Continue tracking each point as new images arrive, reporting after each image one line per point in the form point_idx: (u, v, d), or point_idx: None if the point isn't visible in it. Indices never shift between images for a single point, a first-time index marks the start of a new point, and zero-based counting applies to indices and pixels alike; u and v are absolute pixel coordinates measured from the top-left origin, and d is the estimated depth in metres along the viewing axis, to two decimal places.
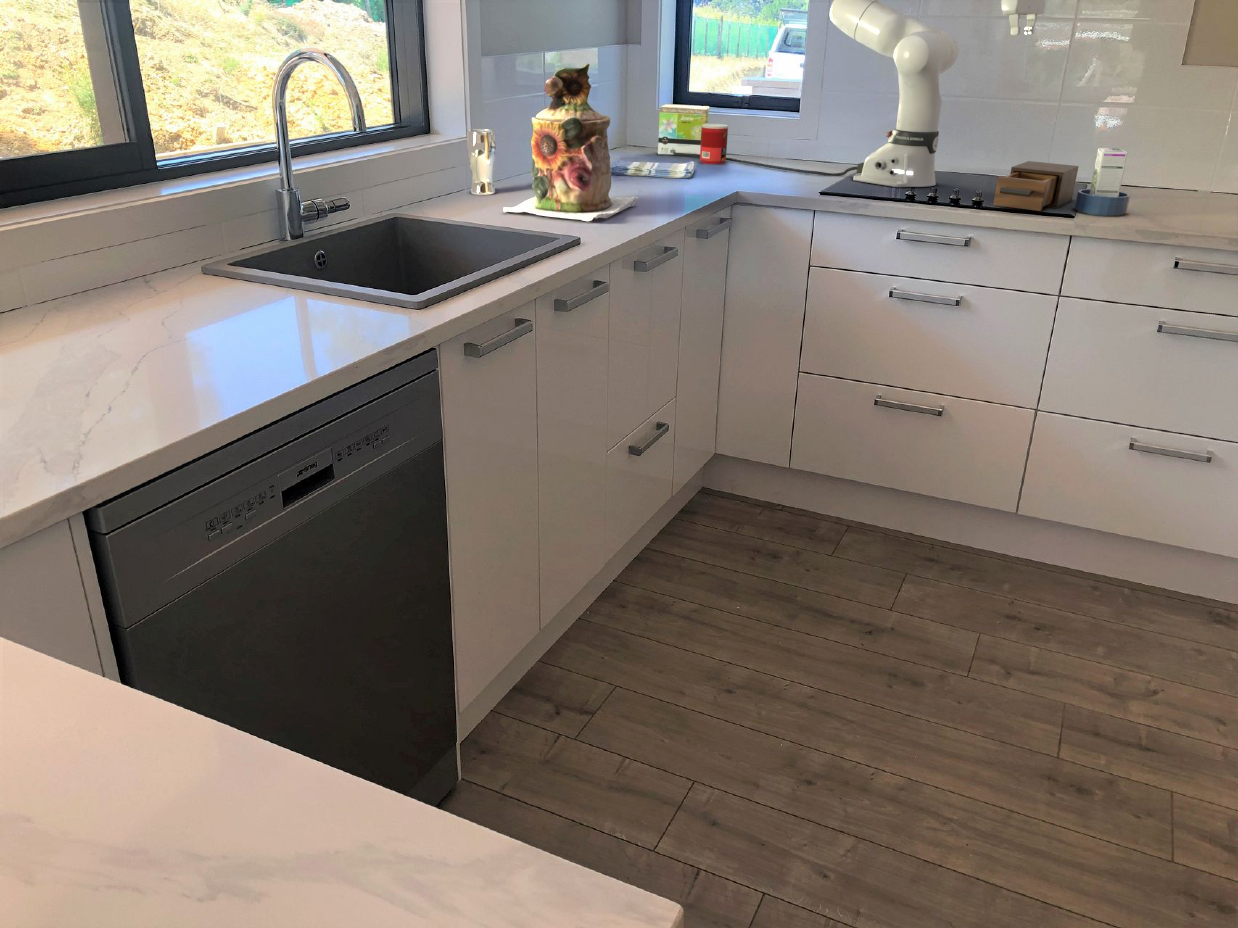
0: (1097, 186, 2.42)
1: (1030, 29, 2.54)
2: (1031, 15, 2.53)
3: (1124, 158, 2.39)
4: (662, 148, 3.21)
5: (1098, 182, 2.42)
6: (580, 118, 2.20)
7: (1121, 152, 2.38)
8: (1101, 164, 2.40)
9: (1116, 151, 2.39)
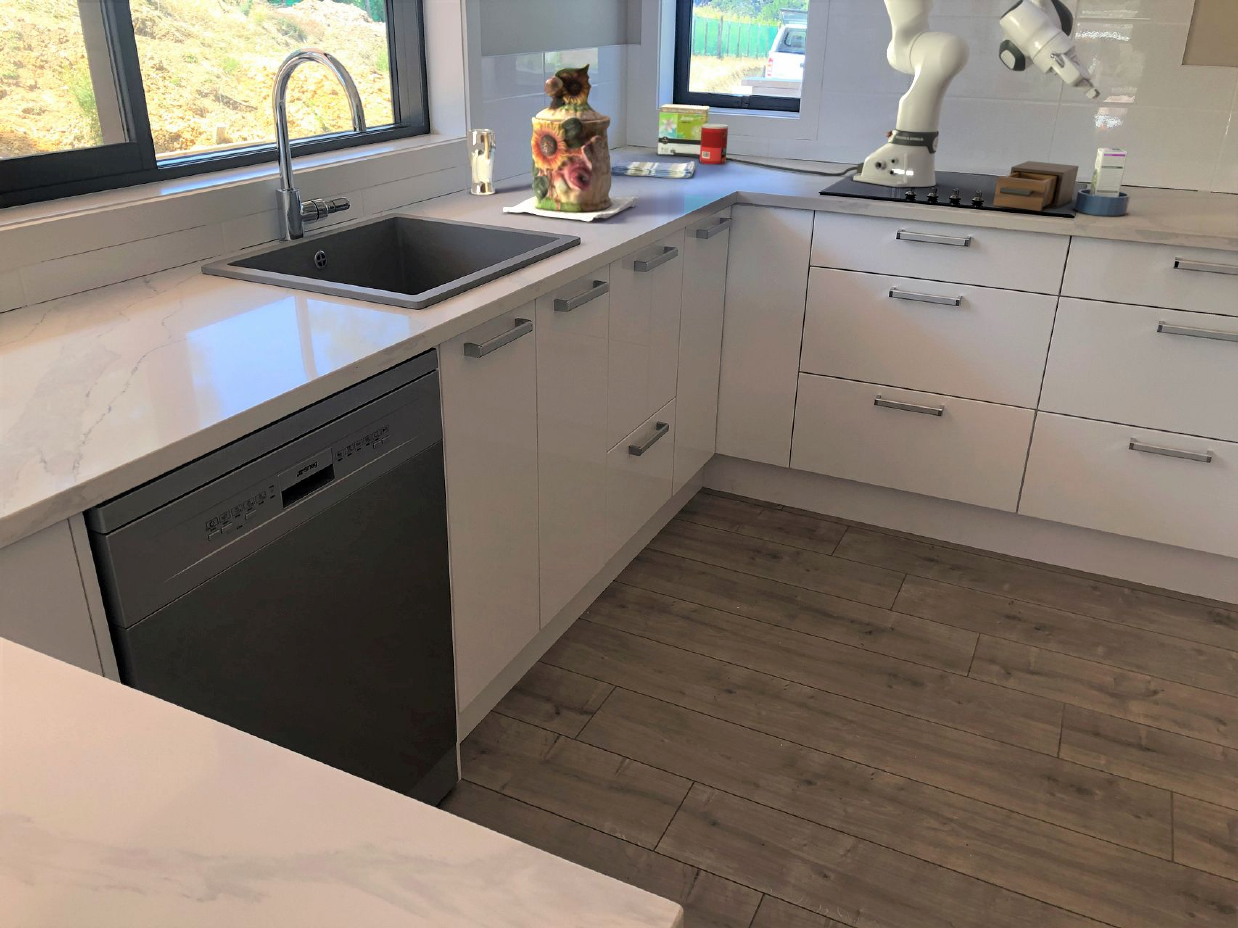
0: (1097, 186, 2.42)
1: None
2: None
3: (1124, 158, 2.39)
4: (662, 148, 3.21)
5: (1098, 182, 2.42)
6: (580, 118, 2.20)
7: (1121, 152, 2.38)
8: (1101, 164, 2.40)
9: (1116, 151, 2.39)
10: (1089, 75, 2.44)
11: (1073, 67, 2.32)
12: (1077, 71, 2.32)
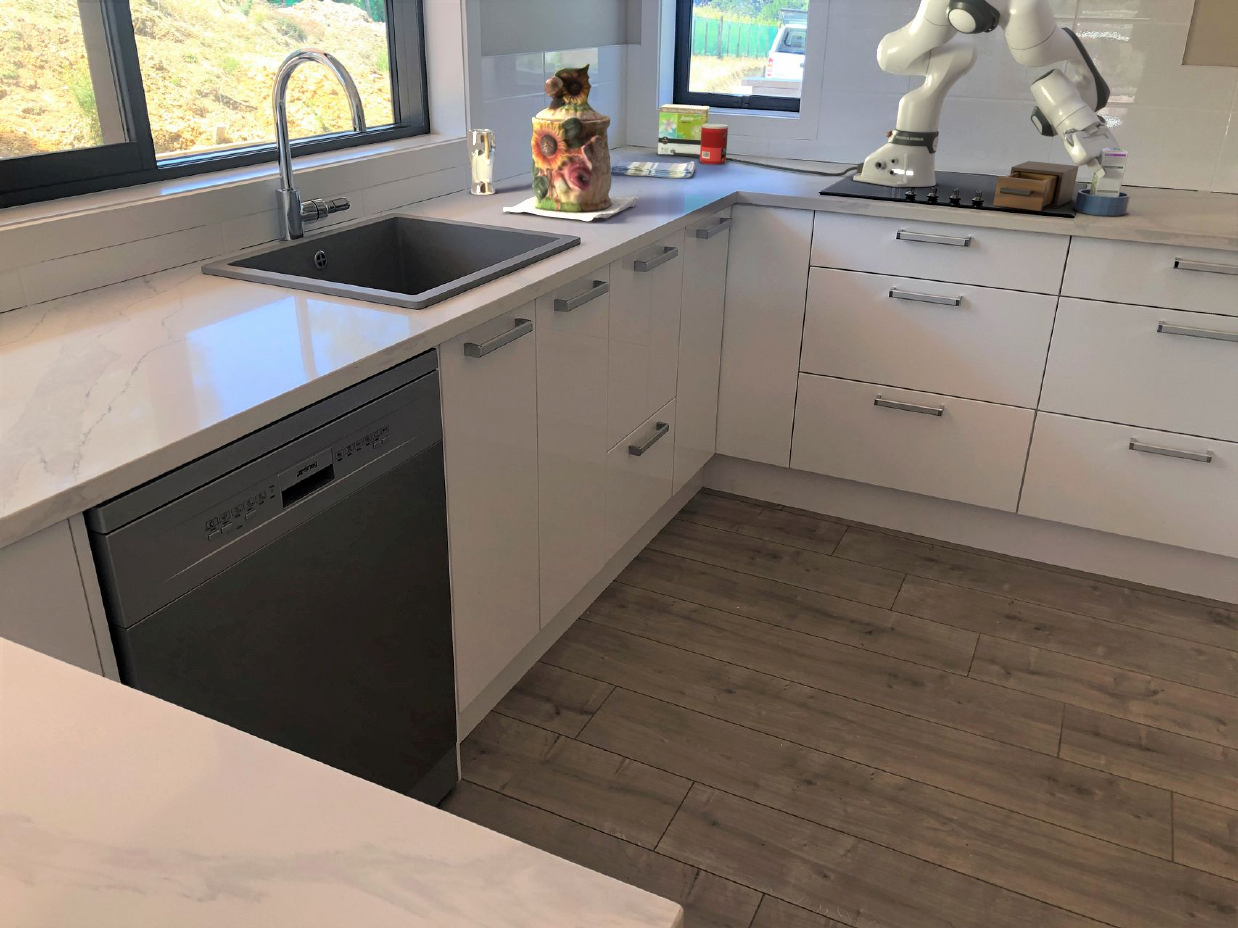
0: (1097, 186, 2.42)
1: None
2: None
3: (1125, 158, 2.39)
4: (662, 148, 3.21)
5: (1098, 182, 2.42)
6: (580, 118, 2.20)
7: (1122, 152, 2.38)
8: (1102, 164, 2.40)
9: (1117, 151, 2.39)
10: None
11: (1081, 147, 2.37)
12: (1084, 152, 2.36)
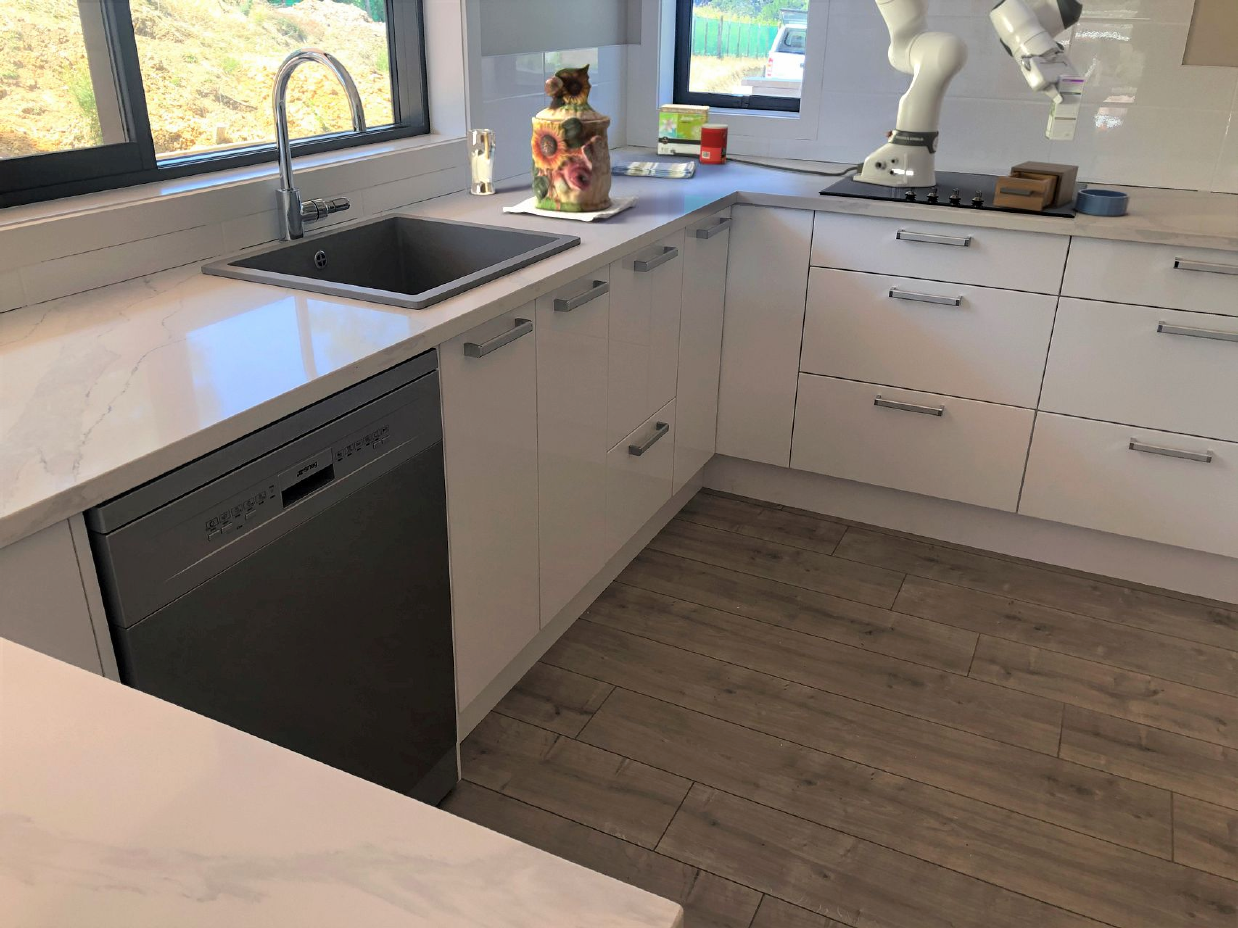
0: (1055, 113, 2.39)
1: None
2: None
3: (1082, 84, 2.35)
4: (662, 148, 3.21)
5: (1056, 109, 2.38)
6: (580, 118, 2.20)
7: (1079, 77, 2.35)
8: (1059, 90, 2.36)
9: (1074, 76, 2.35)
10: None
11: (1038, 72, 2.33)
12: (1041, 77, 2.33)
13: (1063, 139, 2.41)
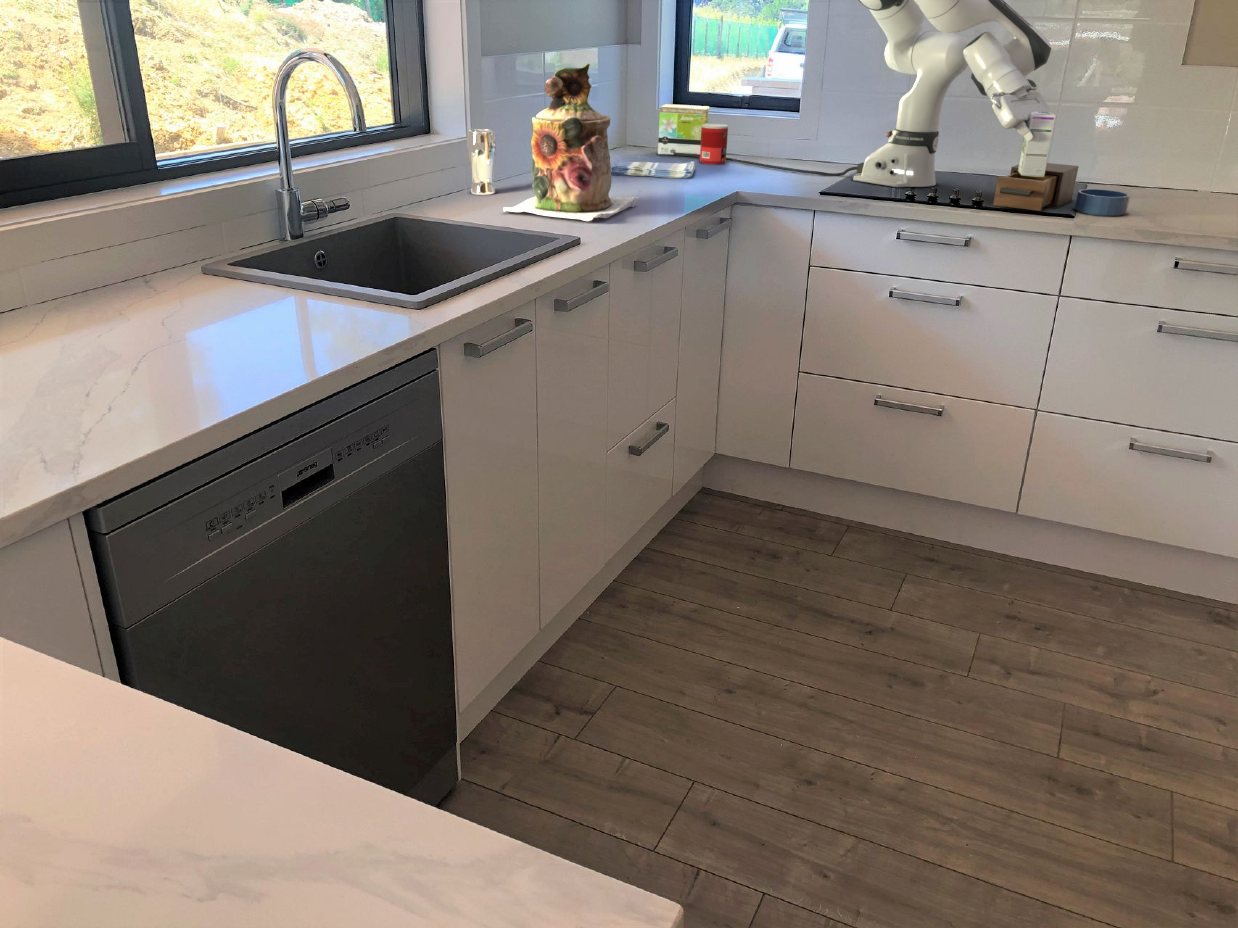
0: (1026, 149, 2.43)
1: None
2: None
3: (1052, 121, 2.39)
4: (662, 148, 3.21)
5: (1027, 145, 2.42)
6: (580, 118, 2.20)
7: (1049, 115, 2.39)
8: (1030, 127, 2.41)
9: (1045, 114, 2.39)
10: None
11: (1008, 110, 2.37)
12: (1011, 115, 2.37)
13: (1034, 175, 2.45)
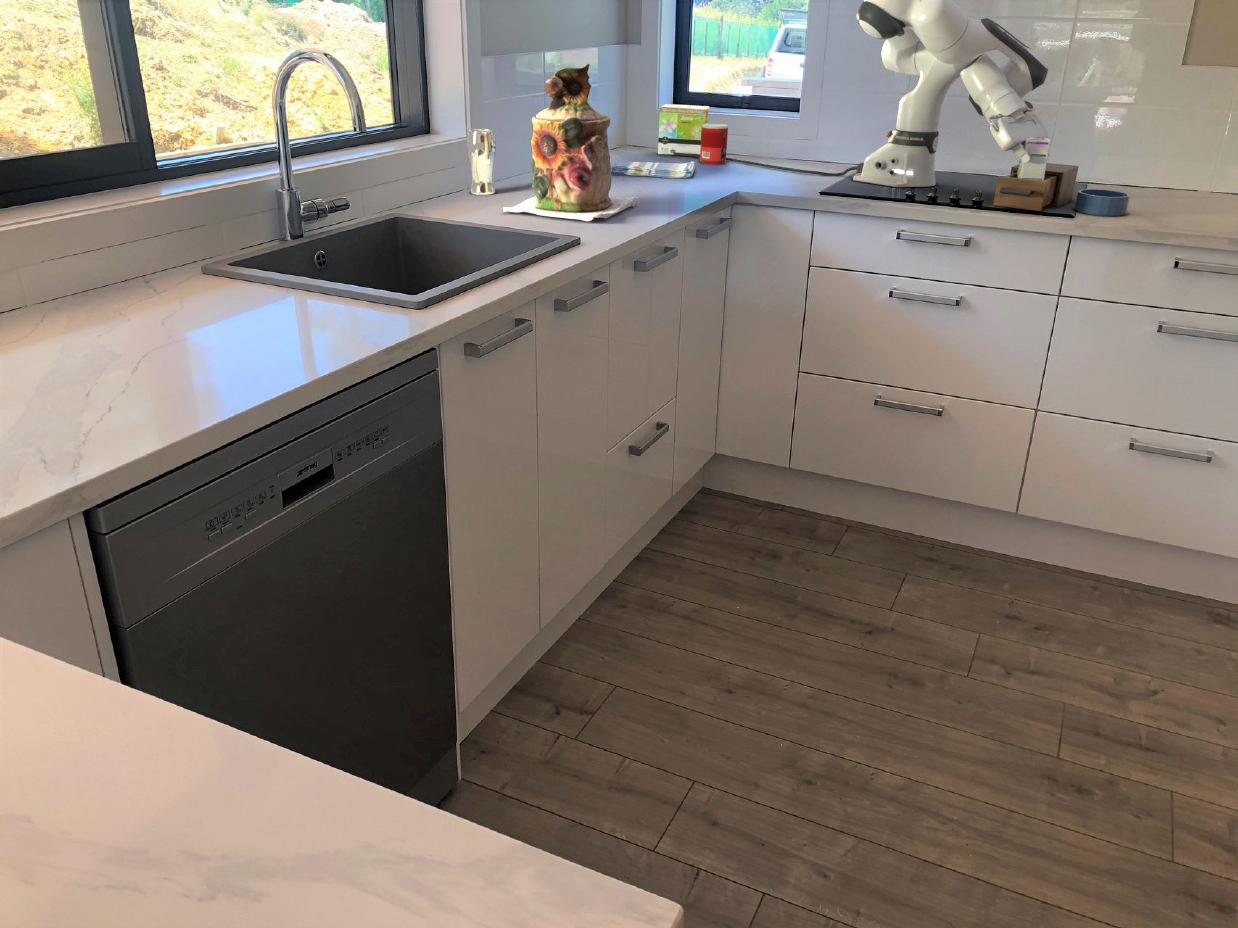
0: (1022, 174, 2.46)
1: None
2: None
3: (1047, 146, 2.42)
4: (662, 148, 3.21)
5: (1023, 170, 2.45)
6: (580, 118, 2.20)
7: (1044, 140, 2.42)
8: None
9: (1039, 139, 2.42)
10: (1040, 135, 2.48)
11: (1006, 133, 2.39)
12: (1009, 137, 2.39)
13: None
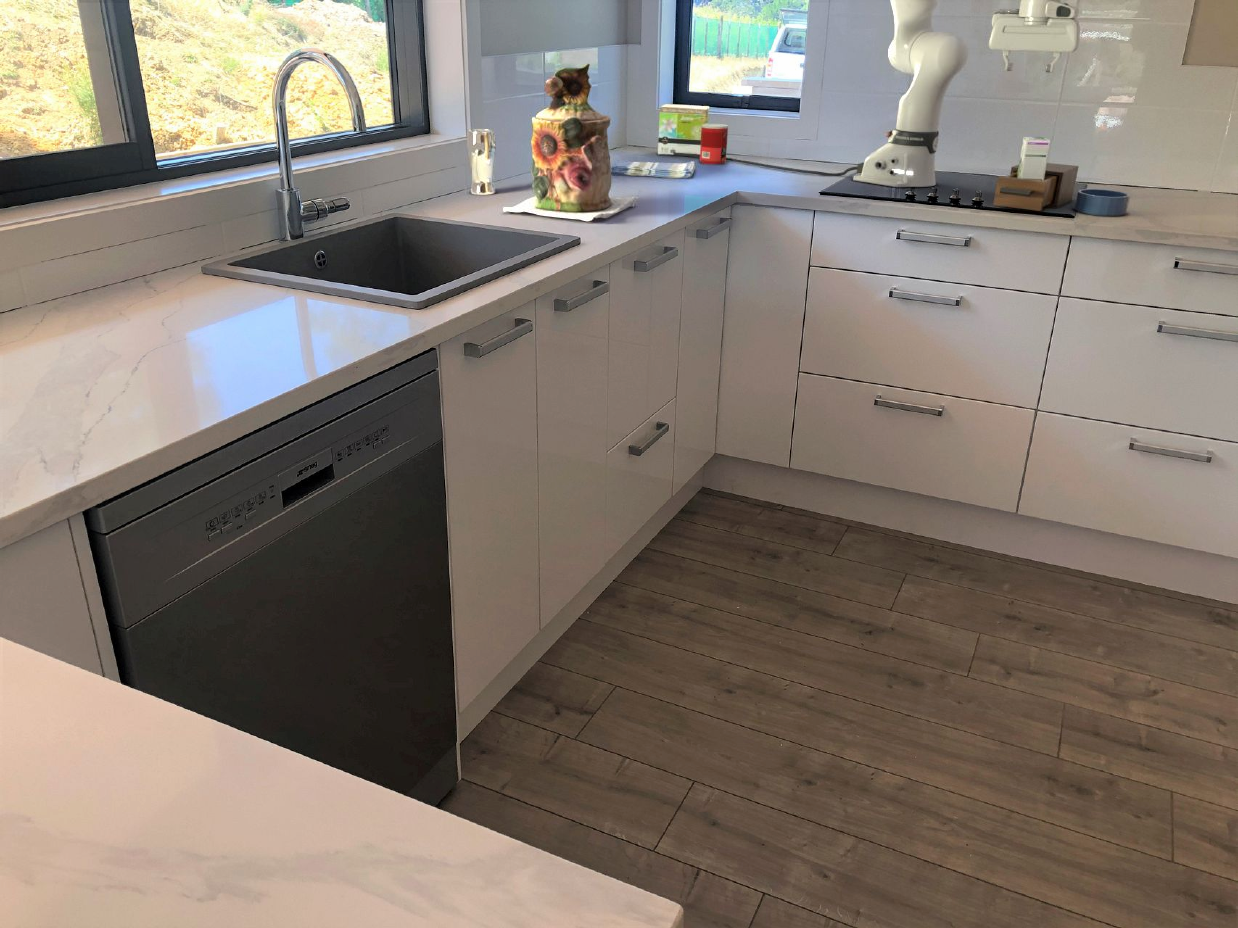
0: (1022, 174, 2.45)
1: (1012, 65, 2.47)
2: (1009, 51, 2.45)
3: (1047, 147, 2.42)
4: (662, 148, 3.21)
5: (1023, 170, 2.45)
6: (580, 118, 2.20)
7: (1044, 141, 2.41)
8: (1025, 153, 2.43)
9: (1039, 140, 2.42)
10: (1053, 49, 2.39)
11: (990, 36, 2.45)
12: (989, 42, 2.45)
13: None
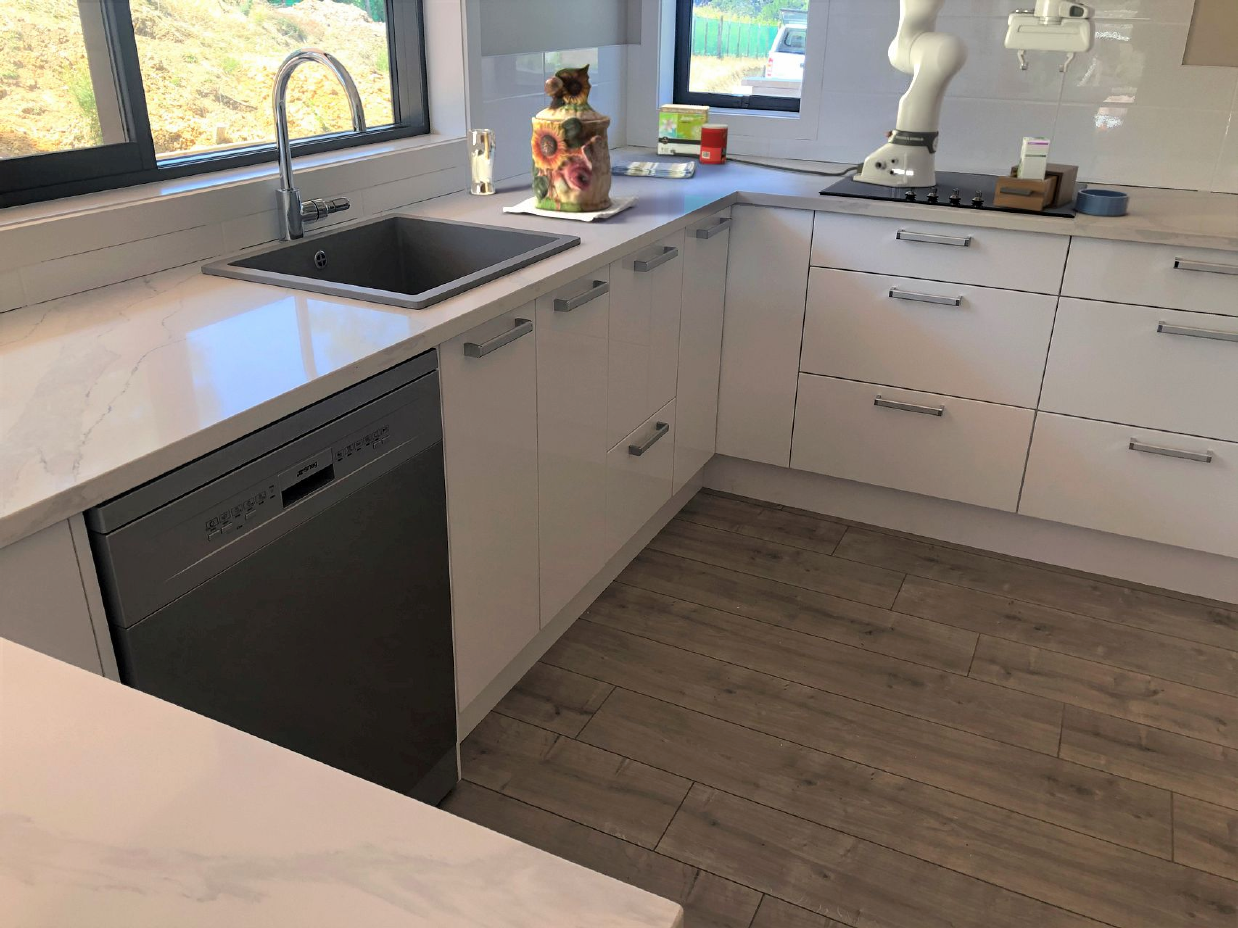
0: (1022, 174, 2.45)
1: (1027, 65, 2.48)
2: (1025, 50, 2.47)
3: (1047, 147, 2.42)
4: (662, 148, 3.21)
5: (1022, 170, 2.45)
6: (580, 118, 2.20)
7: (1044, 141, 2.41)
8: (1025, 153, 2.43)
9: (1039, 140, 2.42)
10: (1066, 49, 2.40)
11: (1006, 35, 2.47)
12: None
13: None
